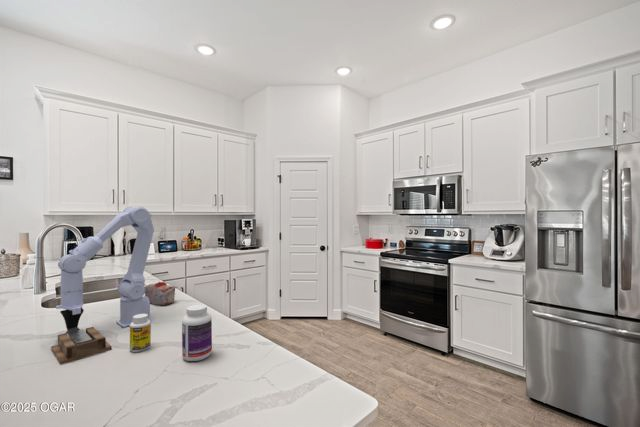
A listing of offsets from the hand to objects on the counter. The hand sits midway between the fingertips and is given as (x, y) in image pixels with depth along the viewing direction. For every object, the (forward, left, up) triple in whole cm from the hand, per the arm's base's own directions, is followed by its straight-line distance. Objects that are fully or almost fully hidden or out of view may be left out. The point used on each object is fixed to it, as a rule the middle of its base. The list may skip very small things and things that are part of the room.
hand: (72, 331), depth 100 cm
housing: (0, +13, -2) cm, 13 cm away
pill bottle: (-21, +44, -3) cm, 49 cm away
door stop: (0, +9, -2) cm, 9 cm away
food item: (-35, -18, -3) cm, 40 cm away
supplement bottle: (-12, +26, -3) cm, 29 cm away
